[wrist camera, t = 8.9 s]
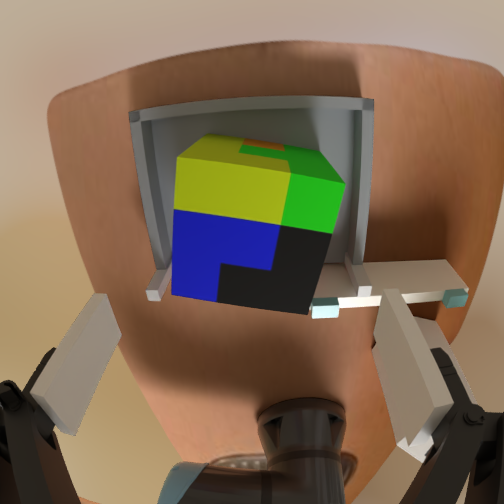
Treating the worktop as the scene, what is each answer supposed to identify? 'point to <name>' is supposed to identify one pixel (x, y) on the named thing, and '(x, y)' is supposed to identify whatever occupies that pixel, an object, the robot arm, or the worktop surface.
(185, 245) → the puzzle toy
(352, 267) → the grey tray
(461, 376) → the milk carton
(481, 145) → the worktop surface
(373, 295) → the cover panel
